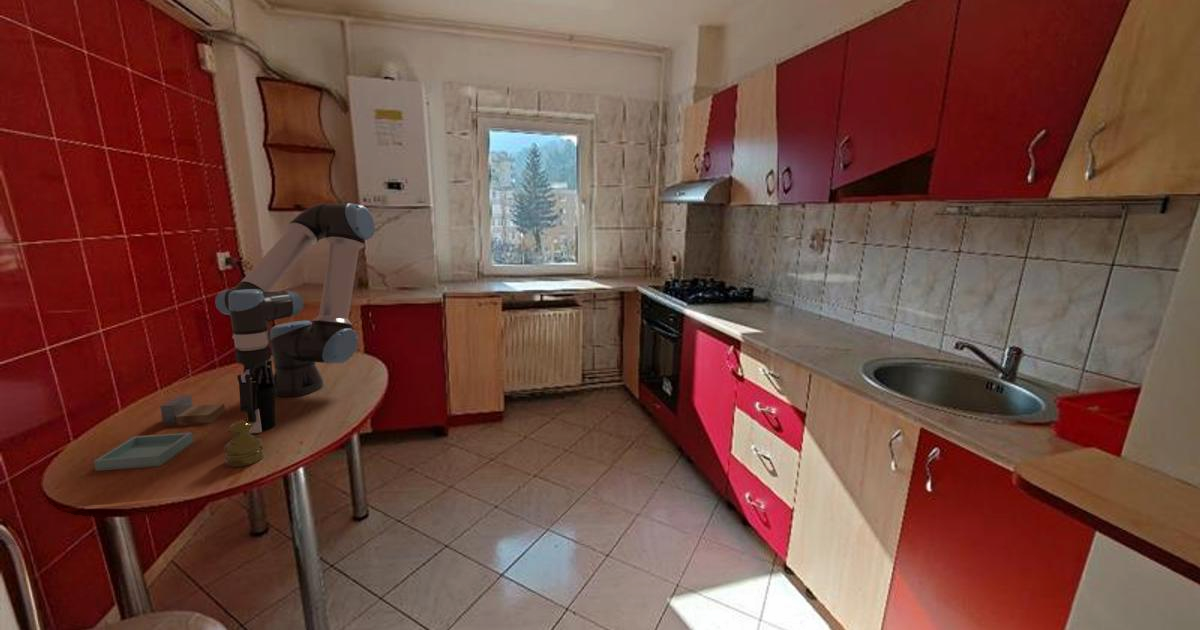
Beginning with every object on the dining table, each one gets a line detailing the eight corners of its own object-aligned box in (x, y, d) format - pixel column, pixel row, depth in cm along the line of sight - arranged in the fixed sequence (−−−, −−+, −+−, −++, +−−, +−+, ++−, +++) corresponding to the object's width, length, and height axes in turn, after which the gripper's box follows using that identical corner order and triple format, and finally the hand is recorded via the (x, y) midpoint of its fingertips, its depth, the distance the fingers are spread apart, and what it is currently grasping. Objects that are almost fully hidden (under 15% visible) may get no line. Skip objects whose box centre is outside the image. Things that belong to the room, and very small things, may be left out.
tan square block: (225, 413, 140) (224, 403, 139) (210, 424, 132) (208, 414, 132) (194, 415, 138) (193, 405, 137) (177, 426, 130) (175, 416, 130)
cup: (286, 424, 132) (281, 384, 130) (259, 436, 125) (253, 393, 123) (266, 420, 134) (261, 381, 132) (239, 431, 127) (233, 390, 125)
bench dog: (193, 414, 138) (190, 394, 137) (176, 425, 130) (173, 405, 129) (182, 414, 137) (178, 395, 136) (163, 426, 129) (160, 406, 128)
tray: (193, 441, 121) (192, 432, 121) (160, 465, 109) (158, 456, 109) (136, 445, 118) (134, 436, 118) (95, 471, 106) (93, 461, 106)
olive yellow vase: (222, 470, 108) (216, 430, 106) (230, 456, 114) (224, 418, 112) (261, 463, 111) (256, 424, 109) (266, 450, 118) (261, 413, 116)
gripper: (255, 338, 134) (264, 412, 139) (214, 358, 114) (227, 443, 119) (284, 337, 136) (293, 410, 140) (249, 357, 116) (260, 441, 121)
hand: (262, 425), depth 130 cm, fingers closed on cup, 8 cm apart
